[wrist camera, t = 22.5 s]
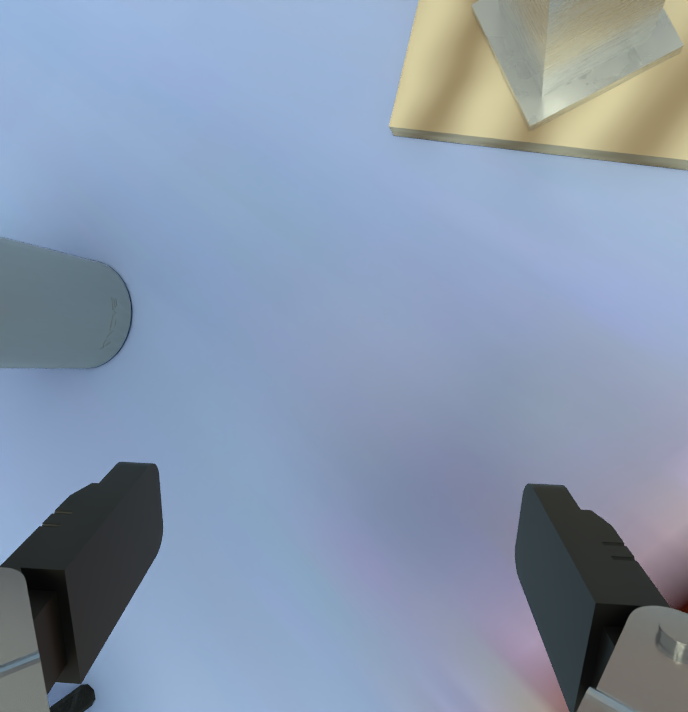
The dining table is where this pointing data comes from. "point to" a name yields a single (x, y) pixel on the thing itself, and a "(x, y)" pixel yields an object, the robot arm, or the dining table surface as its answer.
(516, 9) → the sleeve
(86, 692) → the solar garden light
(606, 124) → the base plate
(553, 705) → the dining table surface
